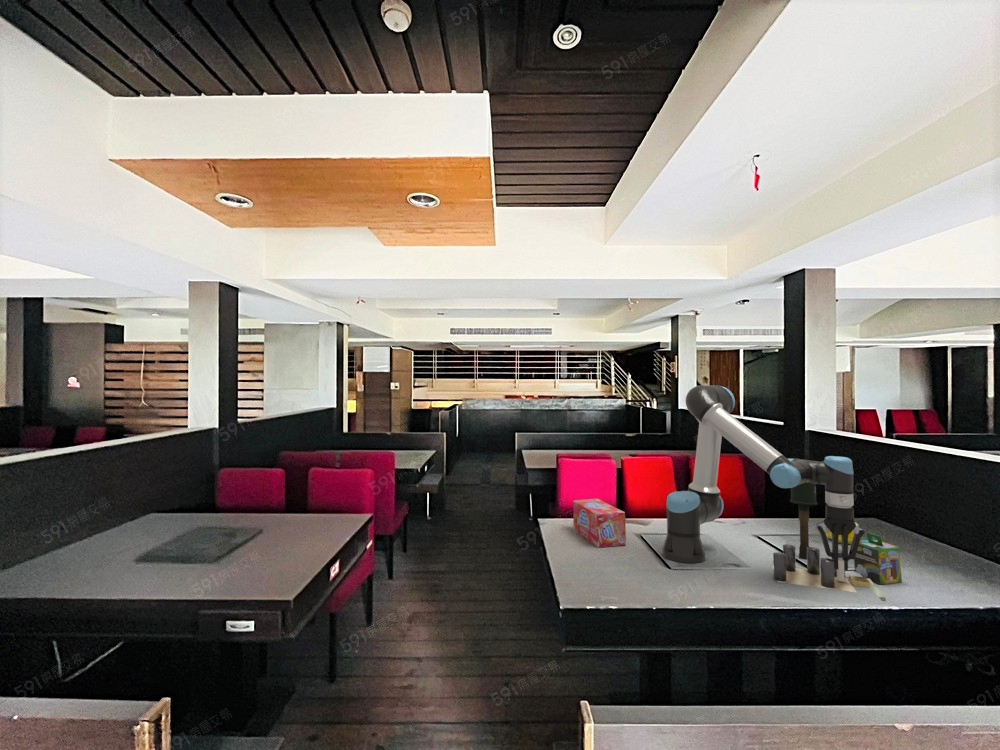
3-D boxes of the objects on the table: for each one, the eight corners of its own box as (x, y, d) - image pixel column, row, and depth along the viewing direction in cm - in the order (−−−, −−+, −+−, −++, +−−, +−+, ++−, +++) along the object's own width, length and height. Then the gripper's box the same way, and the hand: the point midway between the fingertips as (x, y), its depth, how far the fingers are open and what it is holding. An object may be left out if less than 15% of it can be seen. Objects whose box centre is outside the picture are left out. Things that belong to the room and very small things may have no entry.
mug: (859, 540, 204) (859, 511, 204) (862, 547, 194) (861, 517, 195) (823, 535, 211) (822, 507, 211) (823, 542, 201) (822, 512, 202)
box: (572, 529, 220) (571, 499, 221) (599, 527, 223) (598, 497, 224) (596, 548, 194) (596, 514, 194) (627, 546, 197) (626, 512, 197)
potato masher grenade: (823, 565, 174) (821, 480, 175) (796, 563, 176) (794, 479, 177) (812, 557, 183) (811, 476, 184) (787, 555, 185) (785, 475, 186)
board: (777, 586, 156) (777, 581, 156) (772, 569, 171) (772, 565, 171) (885, 601, 145) (885, 596, 145) (869, 581, 159) (869, 577, 159)
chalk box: (902, 583, 158) (901, 537, 159) (880, 585, 156) (878, 539, 157) (874, 572, 167) (873, 529, 168) (853, 575, 165) (852, 530, 166)
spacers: (774, 580, 157) (773, 555, 157) (769, 565, 170) (769, 542, 171) (855, 591, 148) (854, 564, 149) (843, 574, 162) (843, 550, 162)
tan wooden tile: (852, 586, 153) (852, 580, 153) (848, 581, 157) (848, 575, 157) (870, 589, 151) (870, 582, 151) (866, 583, 155) (865, 577, 155)
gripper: (817, 506, 156) (819, 580, 155) (867, 510, 151) (868, 587, 150) (813, 501, 163) (814, 572, 162) (860, 504, 158) (861, 578, 157)
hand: (840, 579), depth 156 cm, fingers closed
